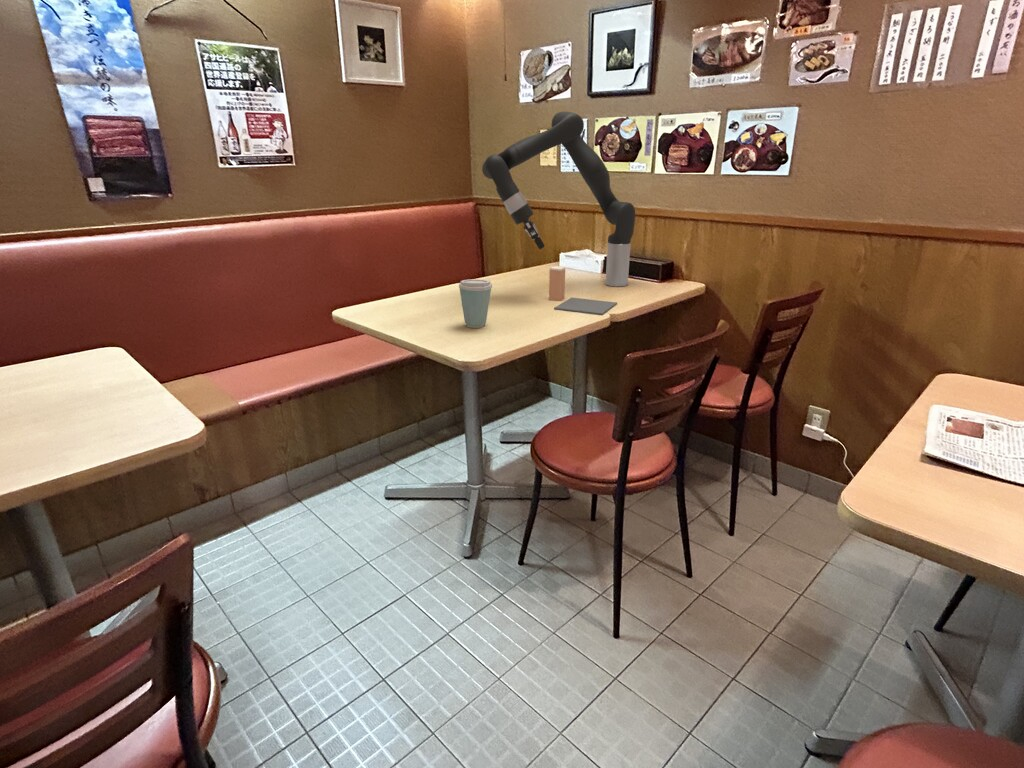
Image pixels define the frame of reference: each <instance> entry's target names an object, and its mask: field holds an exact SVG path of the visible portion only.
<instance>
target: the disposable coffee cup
mask: <svg viewBox="0 0 1024 768" xmlns="http://www.w3.org/2000/svg"><path fill="white" fill-rule="evenodd" d="M458 288H459V293H460V298H461V299H460V300H461V301H460V302H461V306H462V313H463V319H464V320H463V321H464V324H465V326H466V327H467V328H470V329H472V328H473V329H481V328H484V327H485V326H486V324H487V320H488V311H489V305H490V299H491V292H492V288H493V284H492V283H491V281H490V280H487V279H477V278H476V279H474V278H473V279H463V280H460V282H459V284H458Z"/></svg>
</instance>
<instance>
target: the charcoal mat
mask: <svg viewBox="0 0 1024 768" xmlns="http://www.w3.org/2000/svg"><path fill="white" fill-rule="evenodd" d="M617 305H618V302H616V301H608V300H607V301H606V300H598V299H588V298H579V297H570V298H567V299H566V300H565V301H563V302H561V303H560V304H558V305H557V306H555V307H554V308H553V310H555V311H564V312H572V313H581V314H589V315H595V316H603V315H605V314H606V313H608V311H610V310H611V309H613V308H614V307H616V306H617Z"/></svg>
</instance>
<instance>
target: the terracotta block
mask: <svg viewBox="0 0 1024 768" xmlns="http://www.w3.org/2000/svg"><path fill="white" fill-rule="evenodd" d="M548 281H549V283H548V286H549V287H548V289H549V290H548V300H549V301H555V302H556V301H557V302H561V301H563V300H564V299H565V294H566V293H565V289H566V266H556V265H554V266H551V267H550V268H549V280H548Z"/></svg>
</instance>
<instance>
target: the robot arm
mask: <svg viewBox="0 0 1024 768" xmlns="http://www.w3.org/2000/svg"><path fill="white" fill-rule="evenodd" d="M584 127H585V124H584V119H583V118H582V116H581V115H579V114H577V113H575V112H571V111H559V112H557V113H555V114H554V116H553V117H552V120H551V128H549V129H546V130H544V131H542V132H539V133H536V134H533V135H529V136H528V137H525V138H522V139H521V140H518V141H517V142H515V143H513V144H511V145H510V146H508V147H507V148H505V149H504V150H503V151H502V152H500V153H498V154H491V155H488V156H487V158H486V159H485V161H484V162H483V163H482V168H481V172H482V174H483V175H484V176H485V178H487V179H489V180H493V183H494V184H495V187H496V188H495V189H496V193H497V194H498V196H499V198H500V199H501V201H502V202H503V205H504V207H505V208H506V210H507V212H508V214H509V215H510V217H511V219H512V220H513V222H514V224H515V225H520V224H521V223H522V224H523V225H524V227H523V229H524V231H525V232H526V233H527V235H528V236H529V237H530V238H531V239H532V241H534V243H535V244H536V247H537V248H538V249H539V250H542V249H543V248H544V247H545V243H544V242H543V240H542V238H541V237H540V234H539V231H538V229H537V226H536V224H535V223H534V221H532V220H530V218H531V217H532V216H533V215H534V211H533V209H532V208H531V206H530V205H529V203H528V201H527V200H526V198H525V197H524V195H523V194H522V192H521V191H520V189H519V188H518V186H517V184H516V183H515V182H514V180H513V177H512V174H511V172H510V171H511V169H513V168H515V167H517V166H519V165H521V164H524V163H525V162H526V161H528V160H530V159H532V158H534V157H535V156H538V155H539V154H542V153H544V152H545V151H548V150H550V149H553V148H554V147H557V146H560V145H562V146H563V148H565V151H567V153H568V155H569V156H570V158H571V160H572V162H573V163H574V165H575V166H576V168H577V170H578V171H579V174H580V175H581V177H582V179H583V180H584V182H585V183H586V186H588V188H589V189H590V192H591V193H592V195H593V196H594V198H595V199H596V201H597V202H598V205H599V207H600V208H601V211H602V213H603V215H604V218H605V219H606V220H607V222H608V223H610V224H611V225H615V228H614V229H615V230H614V232H613V233H611V234H609V235H608V236H607V247H606V248H607V252H606V267H605V268H606V269H605V283H604V284H605V285H607V286H610V287H625V286H628V285H629V284H628V283H629V273H630V272H629V271H630V270H629V269H630V256H631V244H632V243H631V242H632V238H633V235H634V230H635V224H636V223H635V222H636V208H635V206H634V205H633V204H632V203H631V202H627V201H626V202H625V201H621V200H619V199H618V198H617V197H616V196H615V194H614V193H613V191H612V189H611V177H610V171H609V170H608V168H607V166H606V165H605V163H604V162H603V160H602V158H601V157H600V155H598V153H597V152H596V151H595V150H594V149H593V148H591V147H590V146H589V145H588V143H587V142H586V141H585V140H584V139H583V138H582V136H581V135H582V133H583V131H584Z"/></svg>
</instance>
